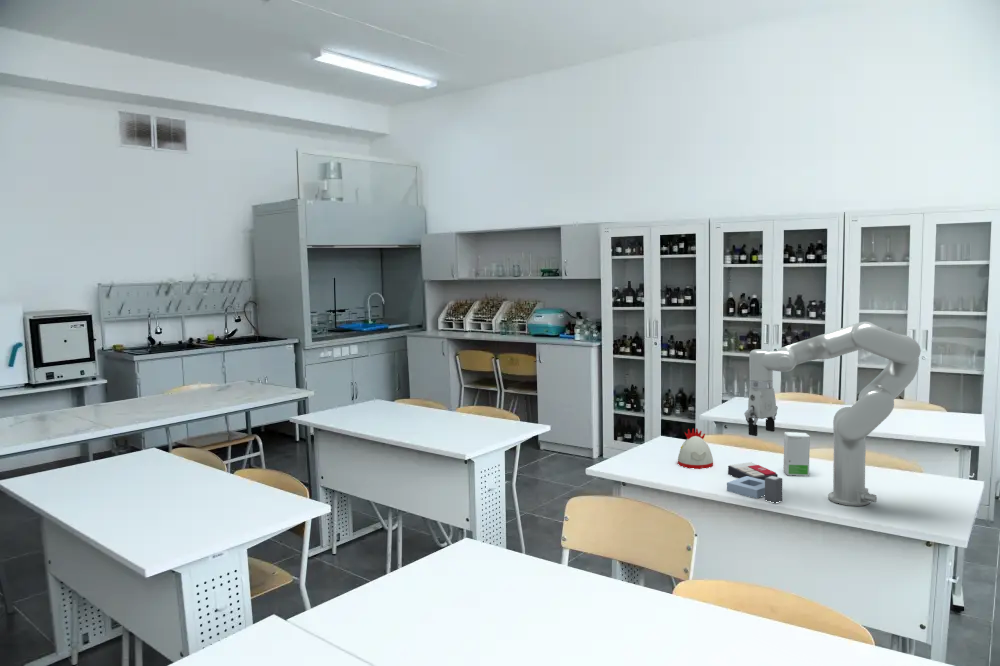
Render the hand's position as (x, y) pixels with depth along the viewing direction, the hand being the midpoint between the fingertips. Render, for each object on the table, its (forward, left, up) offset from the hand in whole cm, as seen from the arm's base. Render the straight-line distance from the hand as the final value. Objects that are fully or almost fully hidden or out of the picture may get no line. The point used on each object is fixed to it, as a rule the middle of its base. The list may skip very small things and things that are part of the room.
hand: (761, 433), depth 239 cm
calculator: (+13, -14, -22) cm, 29 cm away
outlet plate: (+3, +1, -21) cm, 22 cm away
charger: (-8, +5, -21) cm, 23 cm away
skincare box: (+4, -30, -22) cm, 37 cm away
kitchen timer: (+38, -13, -22) cm, 46 cm away
